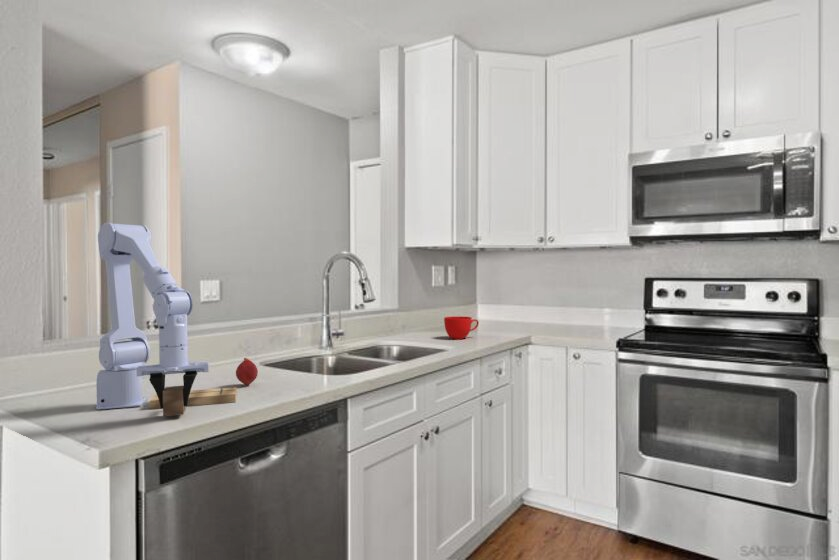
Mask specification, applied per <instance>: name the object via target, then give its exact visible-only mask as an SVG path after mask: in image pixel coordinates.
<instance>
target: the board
mask: <svg viewBox="0 0 839 560" xmlns="http://www.w3.org/2000/svg"><path fill="white" fill-rule="evenodd" d="M237 395H238V393H237V387H236V386H235V387H223V388H208V389H196V390H191V391H190V394H189V400H188V405H187V406H186V407H192V406H194V407H195V406H203V405H217V404H218V405H219V404H227V403H231V404H232V403H237V402H236V401H237ZM155 409H161V408H160V402H159V399H158V396H157V393H156V392H155V394H154V395H153V396H152V397H151V398H150V400H149V410H155Z"/></svg>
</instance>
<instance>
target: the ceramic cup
mask: <svg viewBox="0 0 839 560" xmlns="http://www.w3.org/2000/svg"><path fill="white" fill-rule="evenodd" d="M443 321H444V328H445V332H446V333H447V335H448V336H449V338H450V339H451V338H452V339H451V340H457V339H459V340H464V339H463V338H465V339H466V338H467V336H468V335H469V334H470V332H472V331H475V330H476V329H477V328H478V327H479V324H480V323H479V320H478V319H472V317H471V316H444V319H443ZM473 322H476V325H475V326H474V327H473V328H472V323H473Z"/></svg>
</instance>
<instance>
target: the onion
mask: <svg viewBox="0 0 839 560" xmlns="http://www.w3.org/2000/svg"><path fill="white" fill-rule="evenodd" d="M235 376H236V379H237V380H238V381H239V382H240V383H242V384H243V385H244V386H246V387H247V386H249V385H251V384H252V383H253V382H254V381H256V379H257V377H258V367H257V365H256V364H255V363H254V362H252V360H250V359H249V358H248V357H244V358H243V360H242V361H241V362H240V363H239V364H238V366H237V367H236V370H235Z"/></svg>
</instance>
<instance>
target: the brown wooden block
mask: <svg viewBox="0 0 839 560" xmlns="http://www.w3.org/2000/svg"><path fill="white" fill-rule="evenodd" d="M186 408H187V406H184V385H174V386H173V385H172V386H165V389H164V390H163V408H162V417H171V416H179V415H180V416H182V415H184V414H185V412H186Z"/></svg>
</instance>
